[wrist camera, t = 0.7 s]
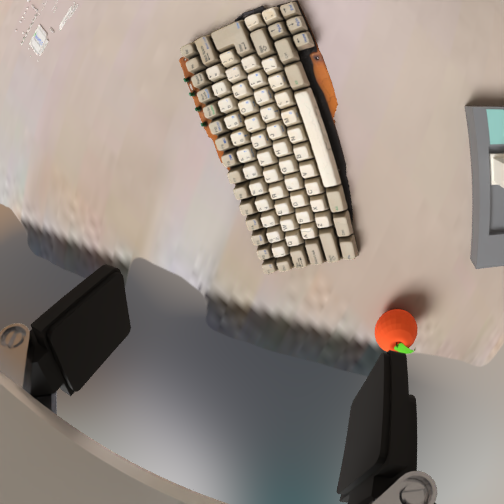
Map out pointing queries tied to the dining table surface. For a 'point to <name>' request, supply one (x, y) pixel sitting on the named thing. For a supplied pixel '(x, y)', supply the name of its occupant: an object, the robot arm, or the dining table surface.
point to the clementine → (396, 331)
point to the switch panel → (486, 185)
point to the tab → (496, 169)
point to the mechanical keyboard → (276, 134)
